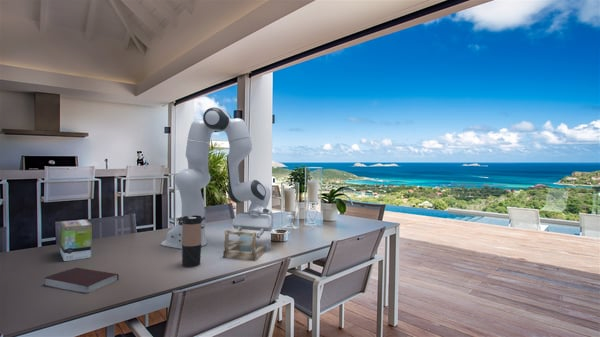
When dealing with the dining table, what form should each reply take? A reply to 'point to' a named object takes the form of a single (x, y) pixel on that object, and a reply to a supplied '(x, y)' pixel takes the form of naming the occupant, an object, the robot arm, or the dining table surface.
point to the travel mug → (191, 241)
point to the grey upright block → (245, 239)
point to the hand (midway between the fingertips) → (248, 236)
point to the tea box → (75, 240)
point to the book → (80, 280)
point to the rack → (234, 249)
